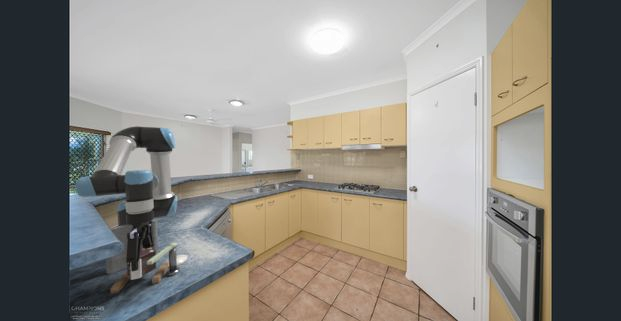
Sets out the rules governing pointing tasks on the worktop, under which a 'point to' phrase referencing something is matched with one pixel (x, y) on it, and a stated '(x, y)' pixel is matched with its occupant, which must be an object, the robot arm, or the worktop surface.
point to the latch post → (172, 263)
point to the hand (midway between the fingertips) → (142, 271)
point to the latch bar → (162, 253)
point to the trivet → (180, 260)
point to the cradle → (126, 278)
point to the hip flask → (121, 233)
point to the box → (144, 261)
